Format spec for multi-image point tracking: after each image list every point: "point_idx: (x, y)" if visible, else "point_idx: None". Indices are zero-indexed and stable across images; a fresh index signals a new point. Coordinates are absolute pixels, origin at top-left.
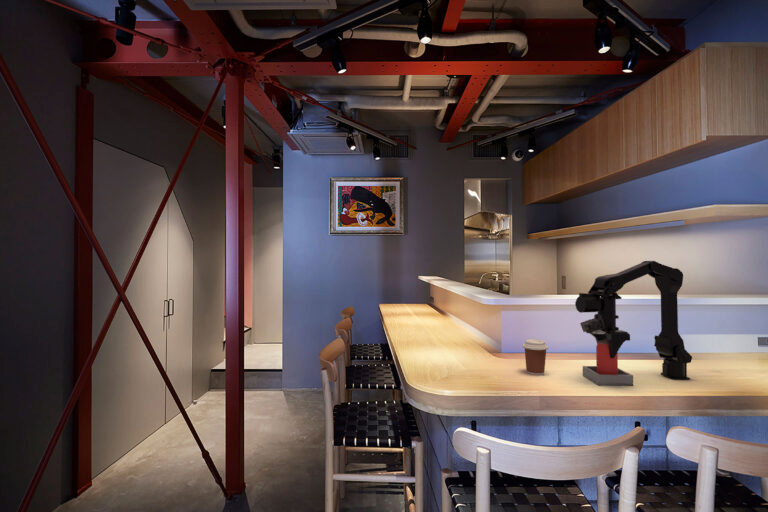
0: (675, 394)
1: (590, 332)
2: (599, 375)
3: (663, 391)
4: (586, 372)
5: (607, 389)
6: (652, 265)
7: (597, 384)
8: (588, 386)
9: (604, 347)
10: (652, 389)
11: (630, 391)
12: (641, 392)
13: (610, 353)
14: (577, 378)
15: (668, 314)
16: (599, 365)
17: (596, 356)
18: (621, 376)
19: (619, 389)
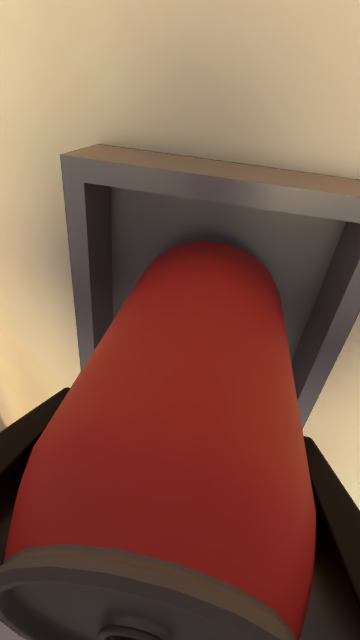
0: (10, 412)
1: None
2: (61, 163)
3: (40, 403)
4: (306, 180)
5: (16, 155)
6: None
7: (112, 146)
8: (67, 22)
9: (34, 471)
10: (61, 386)
11: (8, 275)
12: (4, 315)
13: (20, 422)
14: (312, 61)
15: None
16: (179, 275)
17: (245, 335)
18: (81, 329)
19: (32, 238)
